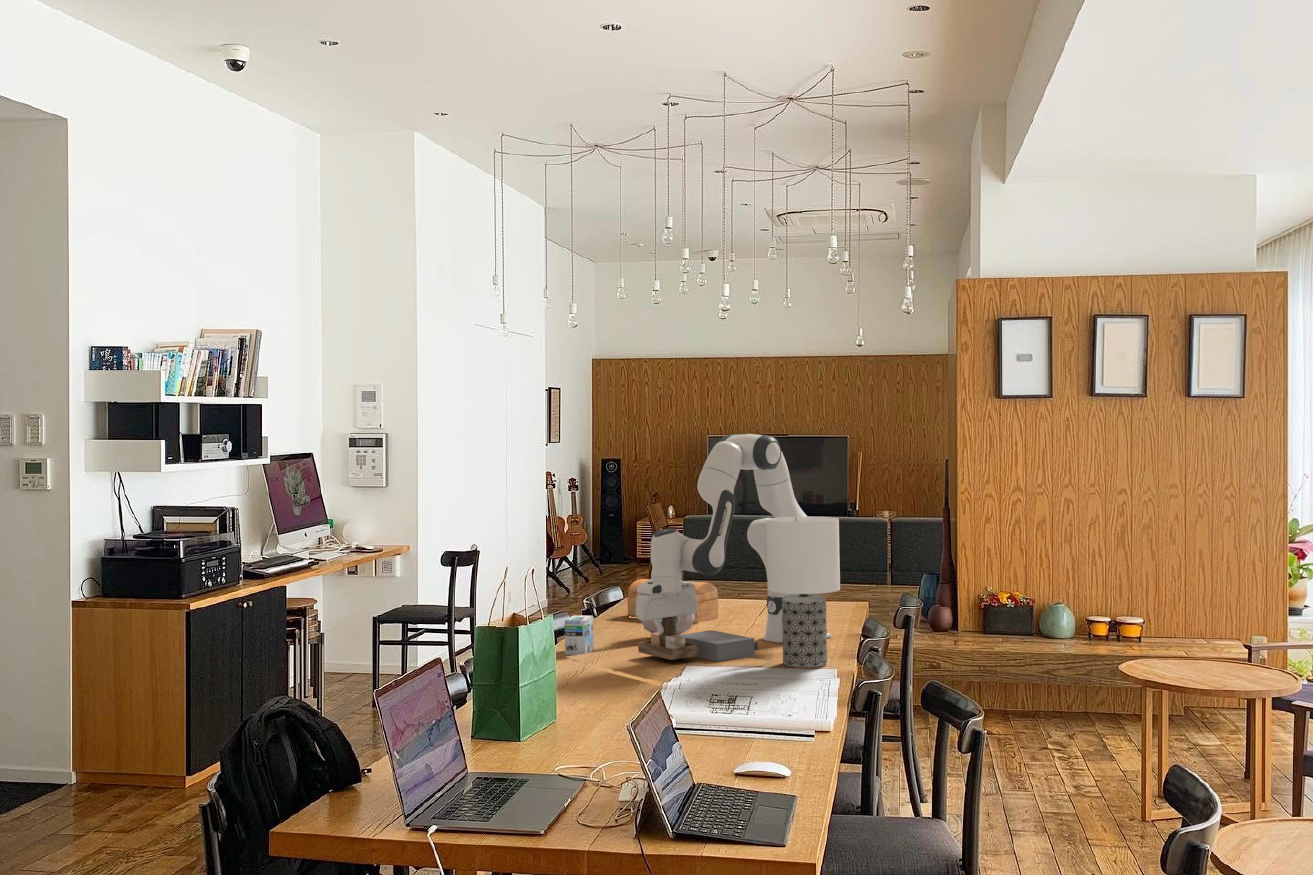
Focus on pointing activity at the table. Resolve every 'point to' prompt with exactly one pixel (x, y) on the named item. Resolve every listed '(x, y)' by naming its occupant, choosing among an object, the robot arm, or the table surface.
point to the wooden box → (704, 596)
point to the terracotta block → (655, 639)
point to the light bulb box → (579, 635)
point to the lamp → (803, 583)
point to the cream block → (675, 641)
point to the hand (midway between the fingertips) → (667, 632)
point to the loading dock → (722, 645)
